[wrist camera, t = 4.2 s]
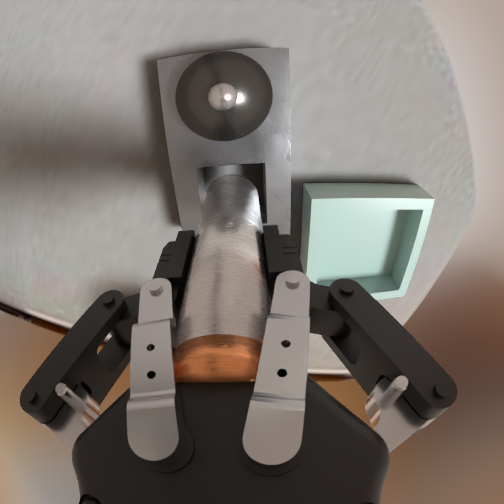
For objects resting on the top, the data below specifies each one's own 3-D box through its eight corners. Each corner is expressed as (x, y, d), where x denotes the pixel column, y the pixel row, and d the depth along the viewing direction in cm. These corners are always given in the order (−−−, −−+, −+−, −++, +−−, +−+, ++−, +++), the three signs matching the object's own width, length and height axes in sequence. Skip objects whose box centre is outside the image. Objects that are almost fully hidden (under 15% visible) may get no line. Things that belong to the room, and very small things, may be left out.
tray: (303, 183, 22) (311, 199, 19) (417, 184, 22) (434, 199, 19) (298, 286, 28) (302, 307, 26) (393, 277, 28) (404, 296, 26)
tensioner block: (168, 62, 16) (147, 58, 12) (281, 52, 16) (293, 44, 12) (191, 228, 24) (182, 261, 20) (284, 222, 24) (293, 255, 20)
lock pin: (203, 176, 17) (151, 370, 6) (257, 172, 17) (285, 367, 6) (209, 223, 19) (183, 416, 8) (259, 219, 19) (280, 414, 8)
